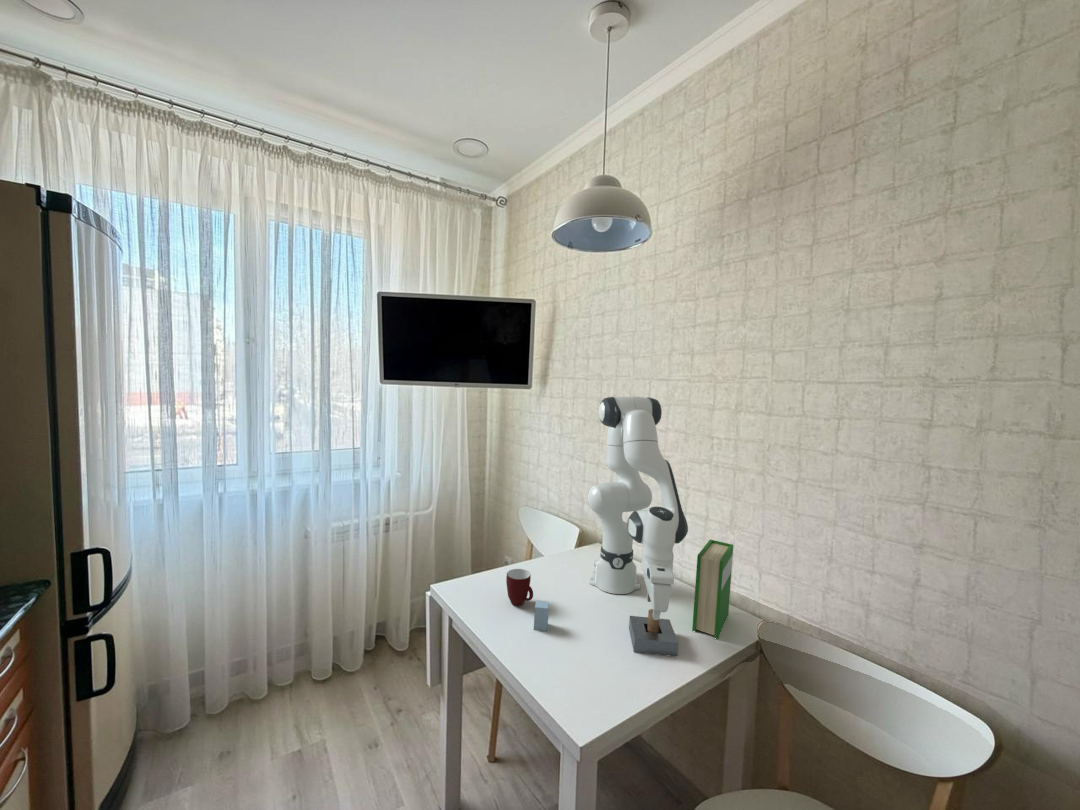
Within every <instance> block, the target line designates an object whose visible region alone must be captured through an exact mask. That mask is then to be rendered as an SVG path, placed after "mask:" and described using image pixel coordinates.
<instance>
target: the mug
mask: <svg viewBox="0 0 1080 810" xmlns="http://www.w3.org/2000/svg"><path fill="white" fill-rule="evenodd" d="M505 579H506V580H505V581H506V583H505V584H506V589H507V597H508V599H509V601H510V603H511V604H512V606H515V607H519V606H523V604H524V603H525V602H530V601H531V600H532V599H533V598H534V591H533V587H532V586H530V585H531V579H532V577H531V572H530V571H529V570H527V569H523V568H514V569H513V568H512V569H510V570H508V571H507V572H506V578H505ZM528 596H529V597H528Z"/></svg>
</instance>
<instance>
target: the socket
mask: <svg viewBox="0 0 1080 810" xmlns="http://www.w3.org/2000/svg"><path fill="white" fill-rule="evenodd" d="M628 619H629V620H628V621H629V622H628V630H629V634H630V635H629V636H630V640H631V645H632V649H633V650H632V651H633V653H635V654H637V653H639V654H646V653H649V654H648V655H655V654H659V655H658V656H665V655H670V656H669V657H675V656H678V654H679V641H678V638H677V636H676V632H675V631H674V627H673V626H672V622H671V619H669V618H667V619H666V618H660V619H659V633H649V632H647V627H648V616H640V615H639V616H636V615H629V618H628Z"/></svg>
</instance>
